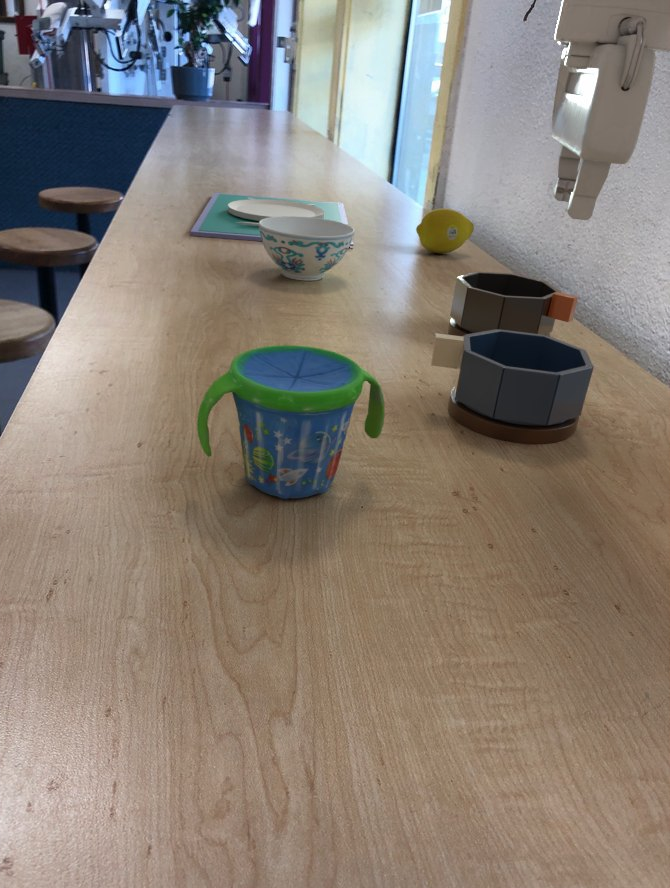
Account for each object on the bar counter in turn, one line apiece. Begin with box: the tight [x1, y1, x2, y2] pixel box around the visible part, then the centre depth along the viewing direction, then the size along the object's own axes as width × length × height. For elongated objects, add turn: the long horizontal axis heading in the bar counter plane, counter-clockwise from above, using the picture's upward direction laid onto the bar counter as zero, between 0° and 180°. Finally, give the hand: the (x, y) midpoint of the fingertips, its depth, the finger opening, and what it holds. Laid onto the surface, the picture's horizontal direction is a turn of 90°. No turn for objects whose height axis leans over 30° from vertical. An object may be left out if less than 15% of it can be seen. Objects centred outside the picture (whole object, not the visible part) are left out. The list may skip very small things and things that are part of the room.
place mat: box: [189, 192, 354, 247], centre depth 166 cm, size 45×30×2 cm
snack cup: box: [196, 344, 385, 500], centre depth 64 cm, size 16×10×10 cm
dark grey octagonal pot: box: [449, 271, 579, 335], centre depth 103 cm, size 15×12×6 cm
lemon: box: [415, 207, 475, 255], centre depth 148 cm, size 11×8×8 cm
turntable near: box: [447, 386, 580, 445], centre depth 82 cm, size 13×13×2 cm
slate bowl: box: [430, 329, 595, 426], centre depth 80 cm, size 15×12×6 cm
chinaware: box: [259, 216, 355, 282], centre depth 125 cm, size 15×15×8 cm
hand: (569, 208), depth 68 cm, fingers open, 8 cm apart
